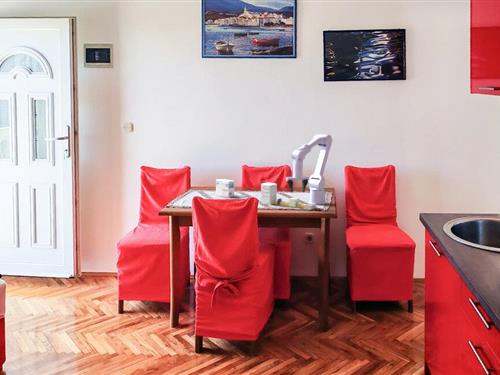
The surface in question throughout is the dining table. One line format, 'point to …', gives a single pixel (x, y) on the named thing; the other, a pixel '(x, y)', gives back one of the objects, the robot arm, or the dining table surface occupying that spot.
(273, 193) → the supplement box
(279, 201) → the pale yellow rod
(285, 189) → the dining table surface
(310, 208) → the comb
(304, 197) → the dining table surface
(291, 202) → the sleeve
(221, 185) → the light bulb box
